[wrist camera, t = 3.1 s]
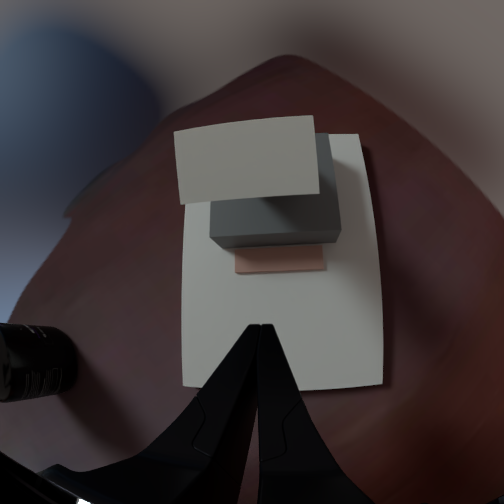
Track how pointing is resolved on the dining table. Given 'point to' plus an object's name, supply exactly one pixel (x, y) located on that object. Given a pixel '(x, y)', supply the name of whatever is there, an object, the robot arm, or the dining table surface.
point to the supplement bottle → (34, 362)
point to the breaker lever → (247, 160)
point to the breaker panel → (289, 276)
